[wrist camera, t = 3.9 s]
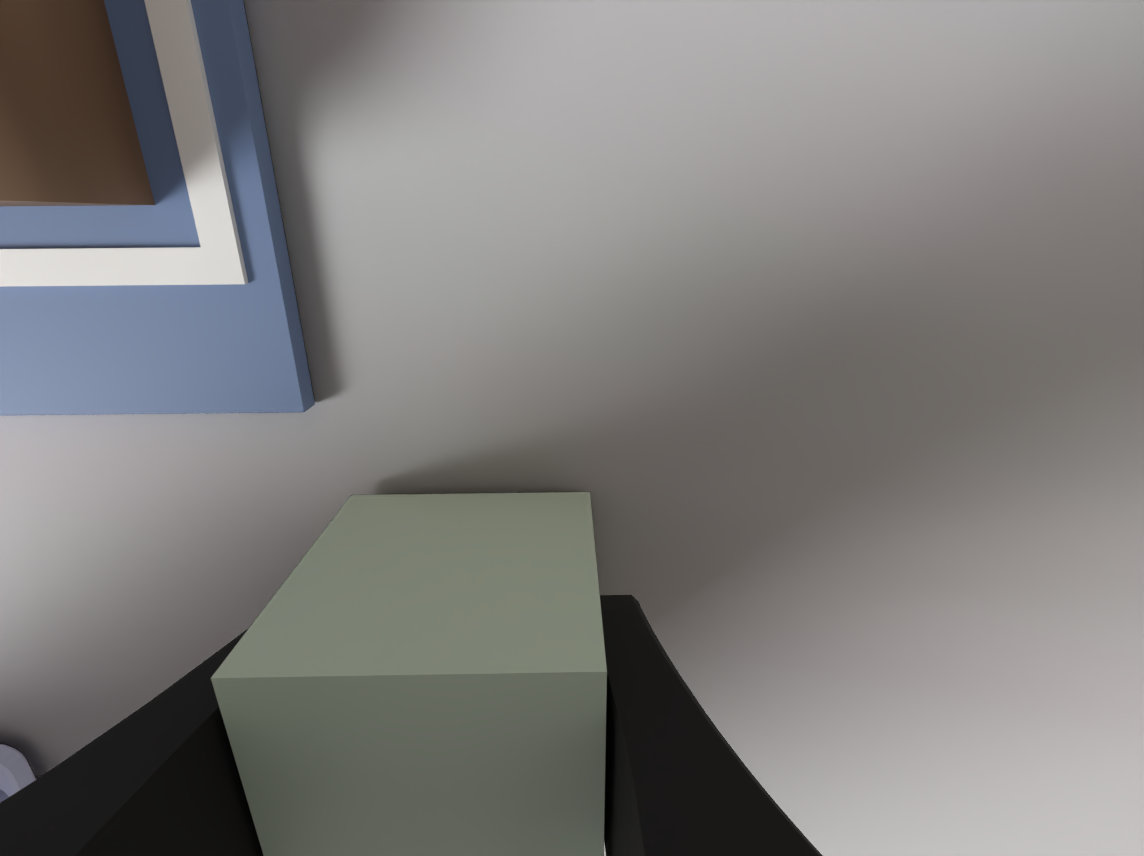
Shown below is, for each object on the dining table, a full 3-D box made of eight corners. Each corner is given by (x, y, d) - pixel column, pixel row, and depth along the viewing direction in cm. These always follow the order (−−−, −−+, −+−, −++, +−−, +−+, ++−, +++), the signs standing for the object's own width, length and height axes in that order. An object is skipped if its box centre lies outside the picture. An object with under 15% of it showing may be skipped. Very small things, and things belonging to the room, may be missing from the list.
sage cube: (589, 677, 11) (602, 920, 7) (381, 680, 11) (284, 926, 7) (589, 491, 9) (606, 671, 6) (351, 494, 9) (211, 677, 6)
